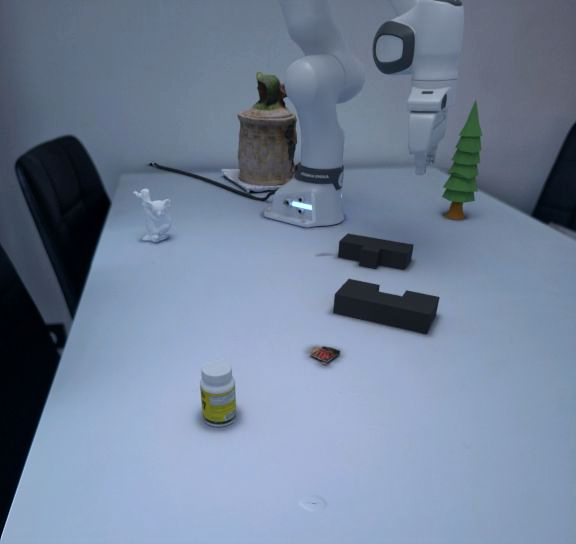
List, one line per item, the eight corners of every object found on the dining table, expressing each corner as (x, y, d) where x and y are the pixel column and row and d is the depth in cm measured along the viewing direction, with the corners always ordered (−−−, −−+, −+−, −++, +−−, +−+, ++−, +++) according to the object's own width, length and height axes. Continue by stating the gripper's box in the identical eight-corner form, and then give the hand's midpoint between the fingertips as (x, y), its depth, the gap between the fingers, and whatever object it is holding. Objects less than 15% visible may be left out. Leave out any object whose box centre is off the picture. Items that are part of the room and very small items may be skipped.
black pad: (334, 261, 123) (335, 244, 120) (346, 249, 129) (347, 233, 127) (401, 274, 117) (404, 256, 115) (411, 261, 124) (413, 244, 122)
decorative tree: (435, 218, 151) (457, 99, 134) (440, 209, 158) (461, 95, 141) (470, 223, 148) (497, 101, 131) (474, 213, 155) (500, 97, 138)
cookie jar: (248, 194, 166) (246, 76, 147) (219, 176, 183) (214, 68, 165) (317, 186, 175) (323, 75, 157) (283, 169, 193) (285, 67, 175)
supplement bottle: (203, 407, 76) (199, 357, 72) (236, 406, 77) (234, 357, 72) (202, 428, 73) (197, 377, 68) (236, 427, 73) (234, 376, 68)
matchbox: (341, 351, 90) (341, 348, 89) (331, 366, 86) (331, 363, 86) (316, 344, 91) (316, 342, 91) (304, 359, 87) (304, 356, 87)
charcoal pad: (333, 313, 101) (334, 293, 99) (347, 296, 107) (348, 278, 105) (426, 334, 95) (430, 314, 93) (435, 315, 101) (439, 296, 99)
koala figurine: (136, 243, 129) (128, 192, 122) (145, 233, 135) (138, 185, 128) (169, 245, 129) (164, 194, 122) (177, 235, 134) (172, 186, 127)
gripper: (427, 89, 114) (420, 158, 122) (404, 102, 99) (398, 179, 106) (457, 90, 112) (448, 159, 119) (439, 102, 96) (430, 181, 104)
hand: (425, 169), depth 113 cm, fingers open, 8 cm apart
